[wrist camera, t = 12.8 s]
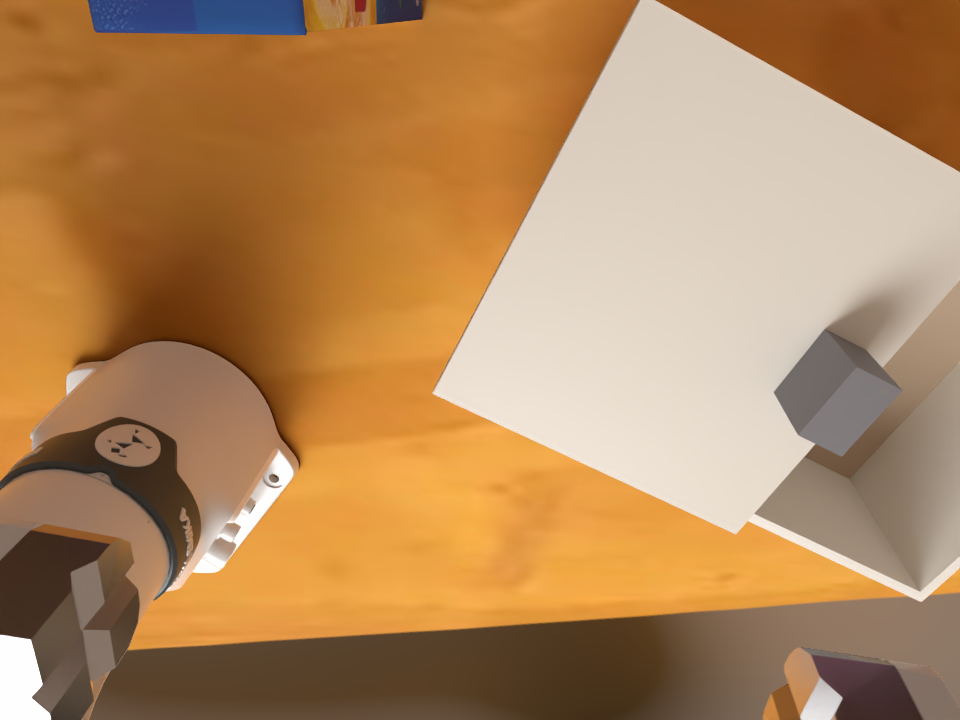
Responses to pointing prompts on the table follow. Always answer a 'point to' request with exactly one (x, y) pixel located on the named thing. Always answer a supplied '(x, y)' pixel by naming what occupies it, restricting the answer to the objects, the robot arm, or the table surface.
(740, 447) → the lid
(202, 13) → the beverage box
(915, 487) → the carton
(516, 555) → the table surface
